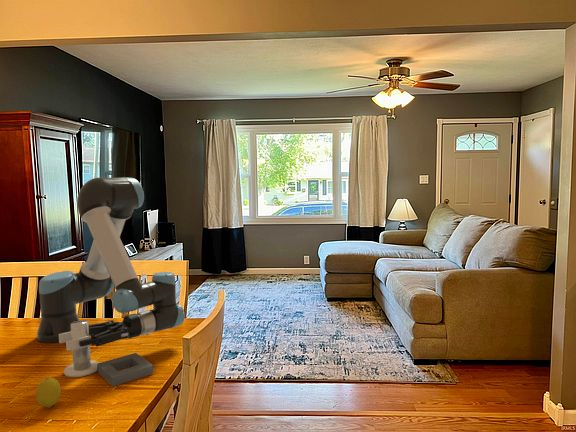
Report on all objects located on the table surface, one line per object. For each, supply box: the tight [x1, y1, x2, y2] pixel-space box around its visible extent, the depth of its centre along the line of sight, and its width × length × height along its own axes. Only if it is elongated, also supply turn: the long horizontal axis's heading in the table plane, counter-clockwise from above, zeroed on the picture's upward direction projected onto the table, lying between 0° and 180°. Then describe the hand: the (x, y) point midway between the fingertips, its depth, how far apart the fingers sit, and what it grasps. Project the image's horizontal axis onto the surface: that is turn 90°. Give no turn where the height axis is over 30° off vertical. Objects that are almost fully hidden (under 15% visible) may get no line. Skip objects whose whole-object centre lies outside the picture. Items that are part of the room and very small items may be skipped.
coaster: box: [63, 360, 100, 378], centre depth 134 cm, size 10×10×1 cm
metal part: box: [71, 319, 92, 371], centre depth 133 cm, size 5×5×14 cm
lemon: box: [35, 376, 62, 409], centre depth 112 cm, size 6×6×8 cm
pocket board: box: [96, 352, 154, 387], centre depth 132 cm, size 13×12×2 cm
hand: (62, 342), depth 130 cm, fingers open, 7 cm apart
